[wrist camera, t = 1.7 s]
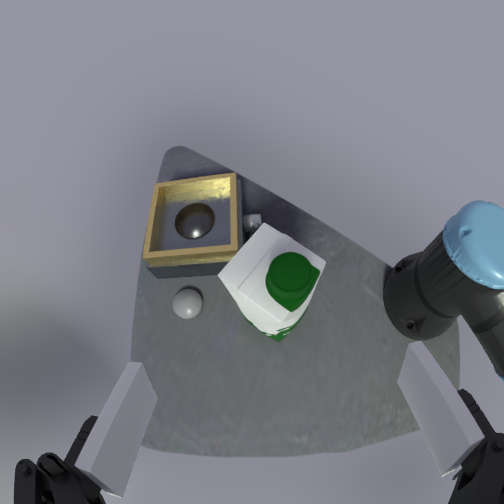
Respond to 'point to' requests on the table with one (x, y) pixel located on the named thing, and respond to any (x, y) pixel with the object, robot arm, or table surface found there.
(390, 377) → the table surface
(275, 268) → the soya milk
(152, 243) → the wooden rimmed tray
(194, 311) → the grey round lid
